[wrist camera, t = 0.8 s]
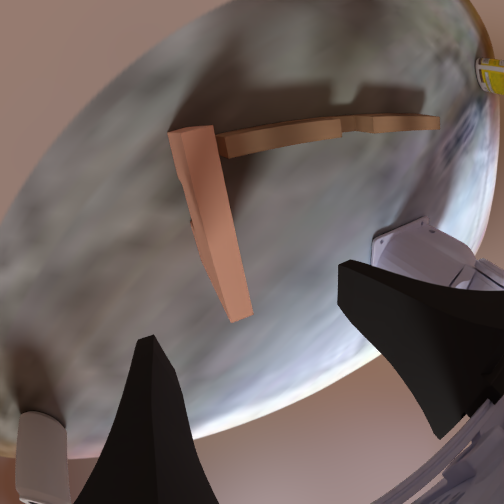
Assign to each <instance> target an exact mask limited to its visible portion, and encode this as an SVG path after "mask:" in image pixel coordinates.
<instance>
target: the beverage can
mask: <svg viewBox="0 0 504 504" xmlns="http://www.w3.org/2000/svg"><path fill="white" fill-rule="evenodd" d="M16 490H17V492H18V493H19V495H20V500H21V501H22V502H24V503H26V504H71V498H70V490H69V479H68V464H67V432H66V430H65V428H64V427H63V426H62V425H61V424H60V423H59V422H58V421H57V420H56V419H54V418H53V417H51V416H49V415H47V414H44V413H41V412H37V411H28V412H26V413H23V414H21V416H20V419H19V427H18V436H17V448H16Z"/></svg>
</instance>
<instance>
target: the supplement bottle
mask: <svg viewBox="0 0 504 504" xmlns="http://www.w3.org/2000/svg"><path fill="white" fill-rule="evenodd" d="M475 68H476V75H477V79H478V82H479V84H480V86H481V88H482V89H483V90H484V91H486V92H492V93H497V94H502V95H504V60H497V59H488V58H478V59H477V60H476V64H475Z"/></svg>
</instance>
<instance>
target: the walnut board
mask: <svg viewBox="0 0 504 504" xmlns="http://www.w3.org/2000/svg"><path fill="white" fill-rule="evenodd" d="M436 129H440V117H436V116H430V115H423V114H412V113H382V114H356V115H341V116H329V117H318V118H309V119H301V120H293V121H286V122H279V123H273V124H267V125H261V126H255V127H250V128H244V129H239V130H234V131H230V132H225V133H221V134H216V135H215V138H216V143H217V148H218V152H219V155H220V156H223V157H226V158H228V159H229V158H234V157H238V156H242V155H246V154H251V153H255V152H260V151H264V150H269V149H274V148H279V147H284V146H290V145H295V144H301V143H307V142H313V141H319V140H325V139H332V138H339V137H342V132H350V131H361V132H368V133H384V132H396V131H412V130H436Z"/></svg>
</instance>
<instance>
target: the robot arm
mask: <svg viewBox="0 0 504 504" xmlns="http://www.w3.org/2000/svg"><path fill="white" fill-rule="evenodd" d="M428 224H429V217H427V216H424V217H422V218H420V219H417V220H415V221H413V222H410V223H408V224H406V225H404V226H401V227H399V228H397V229H394V230H392V231H390V232H387V233H385V234H383V235H380V236H378V237H376V238H375V239H374V240H373V243H372V257H371V265H369V264H365V263H362V262H359V261H355V260H348V261H346V262H343V263H341V264H339V265H338V301H337V305H338V306H339V307H340V309H341V310H342V311H343V313H344V314H345V316H346V317H347V318H348V319H349V321H350V322H351V323H352V324H353V325H354V326H355V327H356V328H357V329H358V330H359V331H360V332H361V334H362V335H363V336H364V337H365V338H366V339H367V340H368V341H369V342H370V343H371V344H372V345H373V346H374V347H375V348H376V349H377V350H378V351H379V352H380V353H381V354H382V355H383V356H384V357H385V358H386V359H387V360H388V361H389V362H390V363H391V365H392V366H393V367H394V369H395V370H396V371H397V373H398V374H399V375H400V377H401V378H402V379H403V381H404V382H405V384H406V385H407V386H408V388H409V389H410V391H411V392H412V394H413V395H414V397H415V399H416V400H417V402H418V404H419V405H420V407H421V409H422V410H423V412H424V414H425V416H426V418H427V420H428V422H429V424H430V426H431V428H432V430H433V433H434V434H435V435H436V436H437V438H438V439H440V440H441V438H443V437H444V436H445V435H446V434H447V433H448V432H449V431H450V430H451V429H452V428H453V427H454V426H455V425H456V424H457V423H458V422H459V421H460V420H461V419H462V418H463V417H464V416H465V415H466V414H467V415H468V416H469V417H470V419H469V420H468V421H467V422H466V424H465V425H464V426H463V427H462V428H461V429H460V430H459V431H458V432H457V433H456V434H455V435H454V436H453V438H451V439H450V440H449V441H448V442H447V443H446V444H445V446H443V447H442V448H441V449H440V450H439V451H438V452H437V453H436V454H435V455H434V456H433V457H432V458H431V459H429V460H428V461H427V462H426V463H425V464H424V465H423V466H421V467H420V468H419V469H418V470H417V471H416V472H414V473H413V474H412V475H410V476H409V477H408V478H406V479H405V480H404V481H403V482H401V483H400V484H399V485H397V486H396V487H394V488H393V489H392V490H390V491H389V492H388V493H386V494H385V495H383V496H382V497H380V498H379V499H377V500H375V501H374V502H372V503H371V504H403V503H404V502H405V501H406V500H408V499H409V498H410V497H412V496H413V495H414V494H416V493H417V492H418V491H419V490H421V489H422V488H423V487H424V486H425V485H427V484H428V483H429V482H430V481H431V480H432V479H433V478H434V477H436V476H437V475H438V474H439V473H440V472H441V471H442V470H443V469H444V468H445V467H446V466H447V465H448V464H449V463H450V462H451V461H452V460H453V459H454V458H455V457H456V456H457V455H458V454H459V453H460V452H461V451H462V450H463V449H464V448H465V447H466V446H467V444H468V443H469V442H470V441H472V444H471V445H470V446H469V447H468V448H466V449H465V450H464V451H463V452H462V453H461V454H459V455H458V456H457V457H456V458H455V459H454V460H453V461H452V462H451V463H450V464H449V465H448V467H447V468H446V469H445V471H444V472H443V473H442V475H443V476H444V478H443V479H442V480H441V481H440V482H438V483H437V484H436V485H435V486H434V487H432V488H431V489H430V490H429V491H427V492H426V493H425V494H423V495H422V496H421V497H419V498H418V499H417V500H415V501H414V502H413V503H411V504H504V270H503V269H501V268H500V267H498V266H497V265H495V264H493V263H492V262H490V261H488V260H486V259H484V258H482V259H480V260H476V258H475V256H474V254H473V252H472V251H471V249H470V248H469V247H468V246H467V245H466V244H464V243H463V242H461V241H459V240H457V239H455V238H454V237H452V236H450V235H448V234H446V233H444V232H442V231H440V230H438V229H436V228H434V227H432V226H430V225H428ZM74 504H219V503H218V501H217V499H216V497H215V495H214V493H213V491H212V488H211V486H210V485H209V482H208V480H207V477H206V475H205V473H204V471H203V468H202V466H201V463H200V461H199V458H198V456H197V452H196V449H195V446H194V442H193V438H192V434H191V430H190V426H189V421H188V417H187V412H186V408H185V403H184V399H183V394H182V391H181V388H180V385H179V381H178V378H177V375H176V372H175V369H174V368H173V366H172V365H171V363H170V361H169V360H168V358H167V356H166V355H165V353H164V351H163V350H162V348H161V346H160V344H159V343H158V341H157V339H156V337H155V336H154V335H151V336H148V337H145V338H142V339H138V341H137V343H136V347H135V351H134V355H133V359H132V362H131V366H130V370H129V374H128V377H127V381H126V384H125V388H124V391H123V395H122V398H121V401H120V404H119V407H118V410H117V414H116V417H115V420H114V422H113V425H112V428H111V431H110V433H109V436H108V438H107V441H106V443H105V445H104V448H103V450H102V452H101V454H100V457H99V459H98V461H97V463H96V465H95V467H94V469H93V471H92V473H91V475H90V477H89V478H88V480H87V482H86V484H85V486H84V488H83V489H82V491H81V493H80V494H79V496H78V498H77V499H76V501H75V502H74Z"/></svg>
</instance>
